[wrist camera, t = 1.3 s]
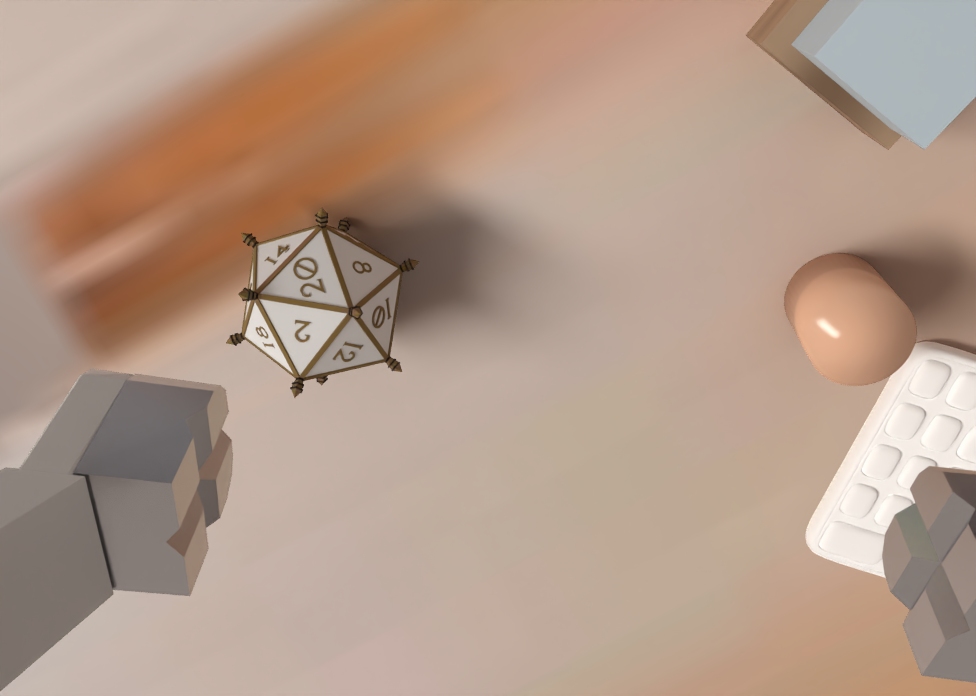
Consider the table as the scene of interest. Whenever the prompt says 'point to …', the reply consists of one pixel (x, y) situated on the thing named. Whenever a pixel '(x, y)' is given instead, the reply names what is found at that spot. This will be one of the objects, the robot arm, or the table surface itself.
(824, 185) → the table surface
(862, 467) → the calculator
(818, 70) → the walnut block
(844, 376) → the terracotta capsule
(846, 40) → the blue-grey cube
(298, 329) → the game die
